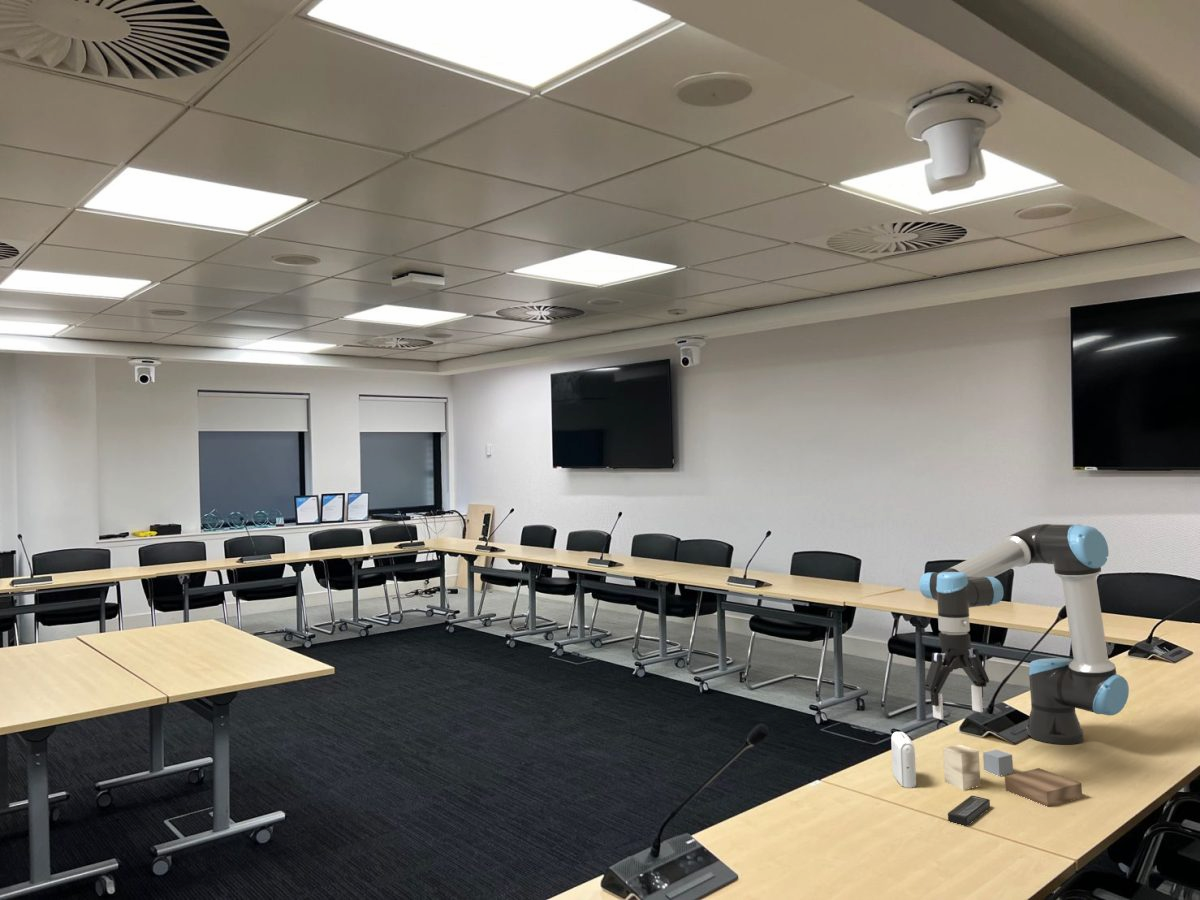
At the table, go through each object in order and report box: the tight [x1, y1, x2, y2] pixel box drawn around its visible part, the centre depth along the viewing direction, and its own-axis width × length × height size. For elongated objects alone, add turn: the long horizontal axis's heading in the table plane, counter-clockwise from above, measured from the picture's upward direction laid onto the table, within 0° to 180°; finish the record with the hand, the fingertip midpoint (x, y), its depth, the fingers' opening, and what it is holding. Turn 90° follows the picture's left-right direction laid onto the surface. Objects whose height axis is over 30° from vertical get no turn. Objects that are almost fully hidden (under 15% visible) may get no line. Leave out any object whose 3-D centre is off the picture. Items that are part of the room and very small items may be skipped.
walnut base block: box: [1004, 767, 1083, 808], centre depth 205 cm, size 12×12×4 cm
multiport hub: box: [947, 795, 991, 827], centre depth 195 cm, size 4×14×2 cm, turn 135°
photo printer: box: [890, 731, 917, 789], centre depth 218 cm, size 10×4×12 cm, turn 175°
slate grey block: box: [982, 749, 1014, 777], centre depth 221 cm, size 5×5×5 cm
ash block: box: [942, 744, 982, 791], centre depth 214 cm, size 6×6×9 cm
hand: (958, 714), depth 214 cm, fingers open, 13 cm apart
